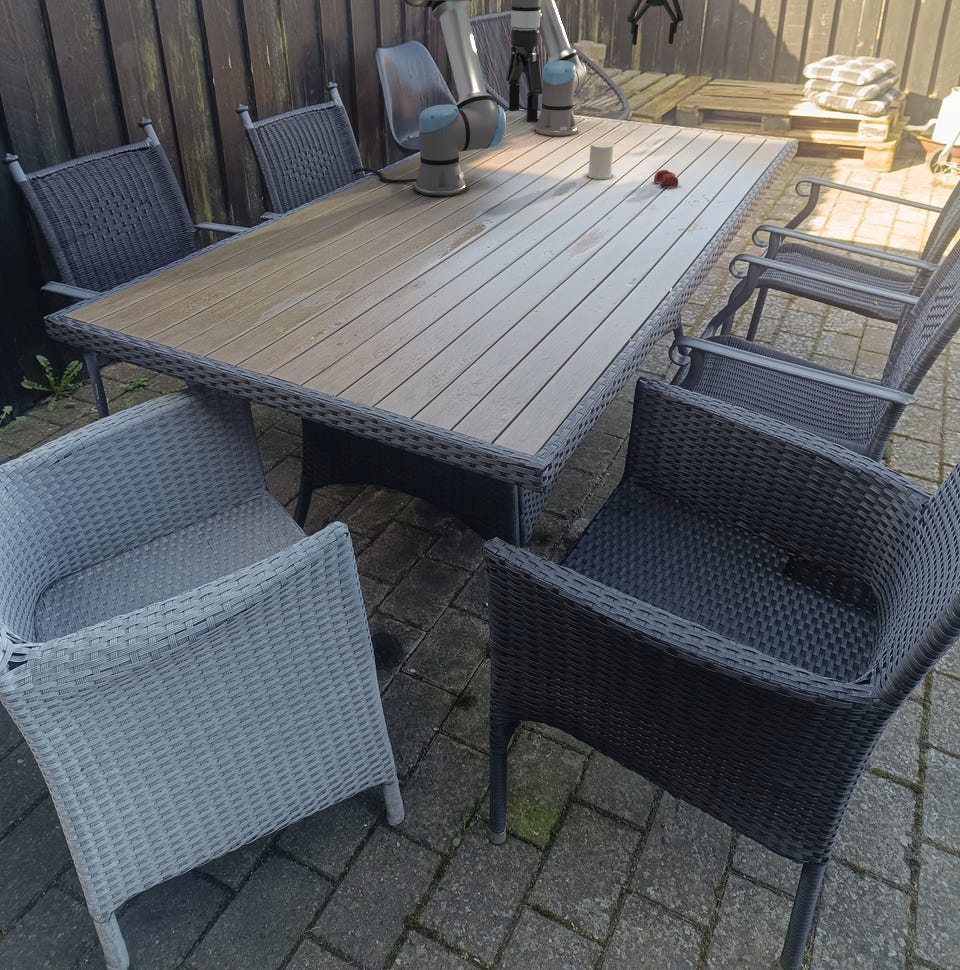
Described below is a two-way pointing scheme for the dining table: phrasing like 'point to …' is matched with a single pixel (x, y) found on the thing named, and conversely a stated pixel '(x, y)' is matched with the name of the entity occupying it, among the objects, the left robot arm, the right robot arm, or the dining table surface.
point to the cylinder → (600, 160)
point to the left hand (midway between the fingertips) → (522, 116)
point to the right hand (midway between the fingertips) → (652, 44)
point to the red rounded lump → (666, 178)
